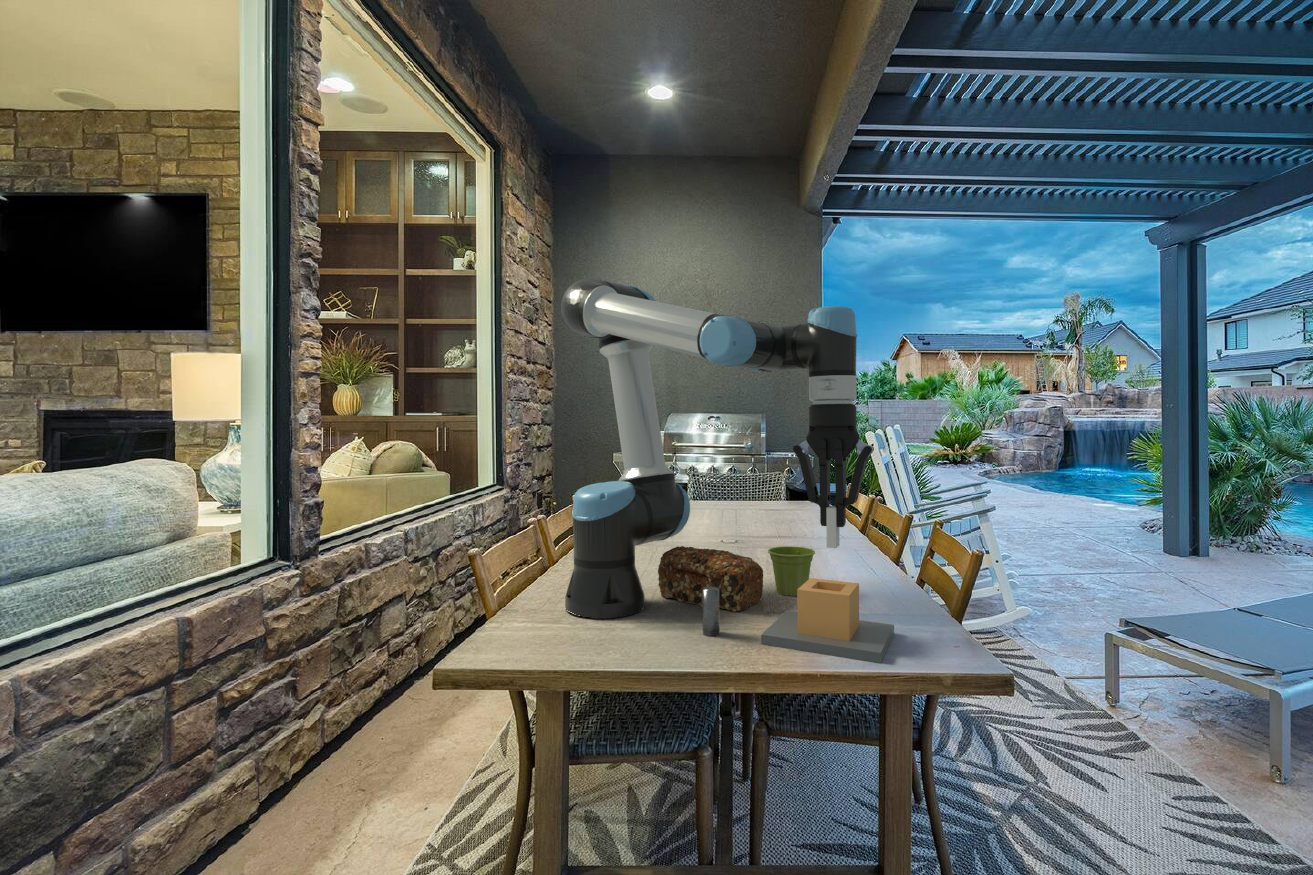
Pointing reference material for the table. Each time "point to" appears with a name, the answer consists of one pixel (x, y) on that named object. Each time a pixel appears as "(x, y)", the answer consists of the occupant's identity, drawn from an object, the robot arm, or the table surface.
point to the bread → (710, 577)
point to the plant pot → (790, 567)
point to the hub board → (862, 646)
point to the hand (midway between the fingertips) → (833, 546)
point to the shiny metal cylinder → (711, 611)
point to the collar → (828, 609)
